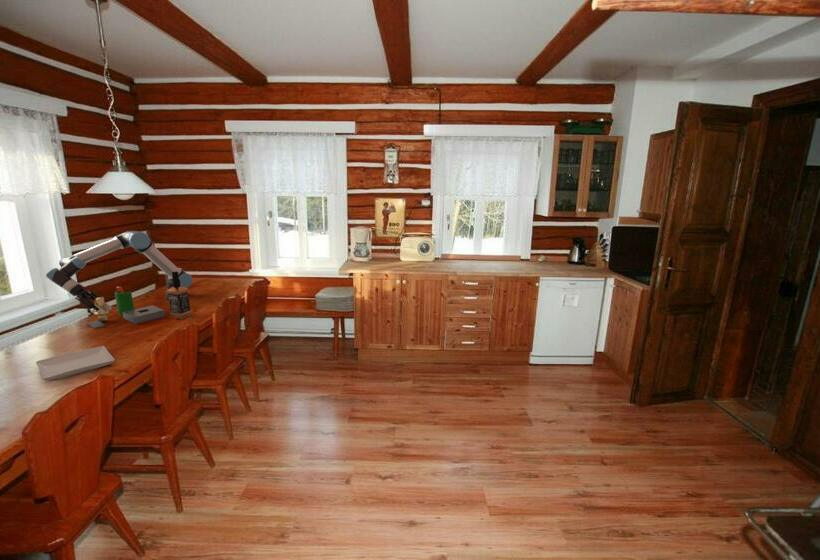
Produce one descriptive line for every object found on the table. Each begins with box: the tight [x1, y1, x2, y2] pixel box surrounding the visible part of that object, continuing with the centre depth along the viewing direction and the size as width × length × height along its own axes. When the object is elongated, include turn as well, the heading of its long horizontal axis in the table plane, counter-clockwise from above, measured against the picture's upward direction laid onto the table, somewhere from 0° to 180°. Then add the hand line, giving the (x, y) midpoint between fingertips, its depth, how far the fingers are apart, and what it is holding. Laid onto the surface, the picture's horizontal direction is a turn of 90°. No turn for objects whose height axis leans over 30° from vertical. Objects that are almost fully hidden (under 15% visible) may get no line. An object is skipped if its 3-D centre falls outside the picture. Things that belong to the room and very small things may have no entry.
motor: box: [114, 286, 135, 316], centre depth 270 cm, size 10×9×20 cm
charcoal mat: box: [86, 319, 109, 330], centre depth 252 cm, size 14×14×1 cm
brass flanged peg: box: [93, 296, 110, 322], centre depth 250 cm, size 8×8×15 cm
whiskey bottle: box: [166, 272, 193, 321], centre depth 261 cm, size 10×10×32 cm
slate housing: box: [122, 304, 166, 325], centre depth 260 cm, size 18×18×6 cm
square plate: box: [35, 345, 116, 381], centre depth 194 cm, size 27×27×4 cm
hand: (107, 310), depth 251 cm, fingers closed on brass flanged peg, 7 cm apart
